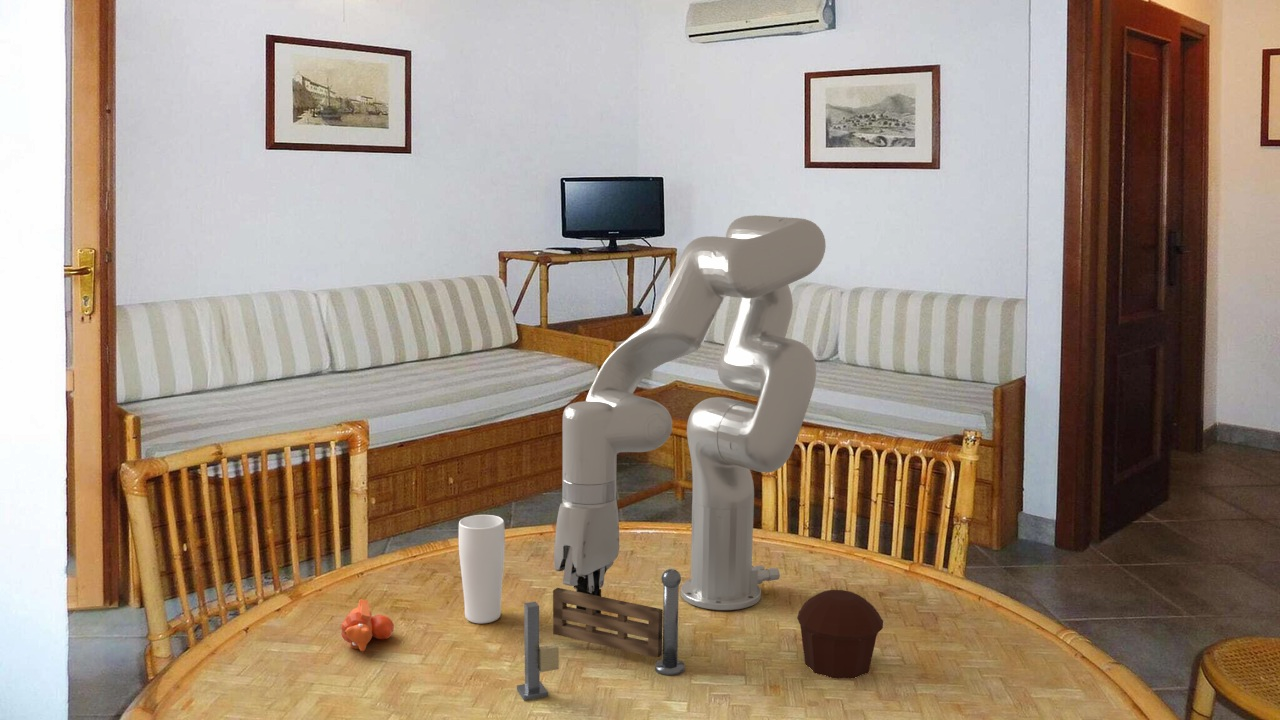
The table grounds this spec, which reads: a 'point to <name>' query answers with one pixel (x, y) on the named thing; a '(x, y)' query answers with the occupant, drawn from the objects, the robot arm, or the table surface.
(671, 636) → the hinge post
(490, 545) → the drinking glass
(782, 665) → the table surface
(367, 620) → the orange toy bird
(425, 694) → the table surface
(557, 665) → the post
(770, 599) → the table surface
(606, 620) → the gate
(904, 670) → the table surface
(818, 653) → the muffin
